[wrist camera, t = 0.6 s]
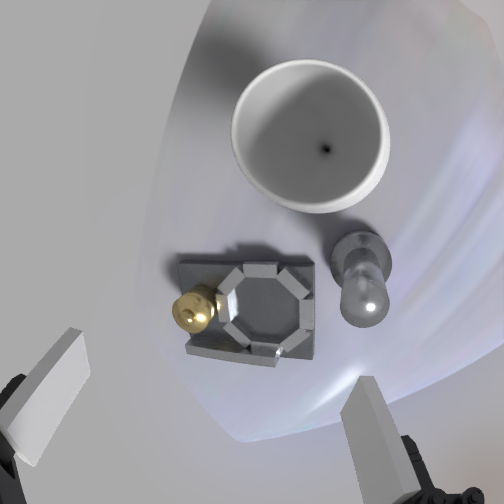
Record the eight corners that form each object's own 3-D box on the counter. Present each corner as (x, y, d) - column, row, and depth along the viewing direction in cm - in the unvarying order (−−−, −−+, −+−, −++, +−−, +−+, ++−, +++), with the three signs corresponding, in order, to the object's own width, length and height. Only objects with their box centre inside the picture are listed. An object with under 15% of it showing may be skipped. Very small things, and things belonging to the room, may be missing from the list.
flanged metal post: (331, 229, 32) (321, 262, 21) (390, 230, 30) (411, 263, 19) (331, 287, 34) (320, 341, 23) (387, 287, 32) (400, 343, 21)
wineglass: (309, 203, 32) (249, 259, 13) (281, 133, 31) (182, 89, 12) (381, 179, 29) (438, 199, 10) (352, 106, 27) (354, 13, 8)
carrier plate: (182, 256, 40) (154, 271, 34) (315, 258, 34) (307, 278, 28) (196, 339, 43) (175, 363, 37) (314, 353, 37) (306, 384, 31)
